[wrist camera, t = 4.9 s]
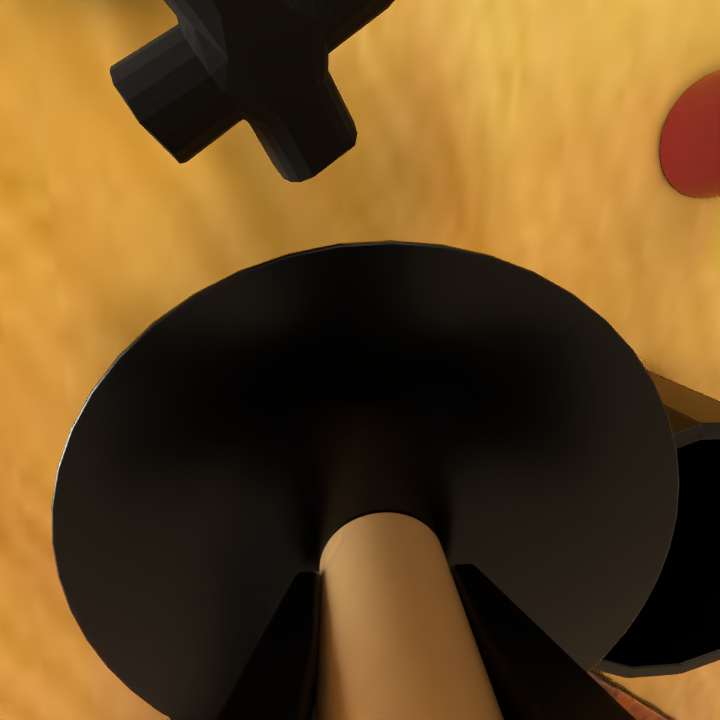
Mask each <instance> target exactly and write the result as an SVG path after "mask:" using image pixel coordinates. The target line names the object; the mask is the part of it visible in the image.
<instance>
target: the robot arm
mask: <svg viewBox="0 0 720 720" xmlns="http://www.w3.org/2000/svg"><path fill="white" fill-rule="evenodd" d="M450 571H451V574H452V577H453V580H454V583H455V585H456V588H457V591H458V594H459V596H460V599H461V602H462V605H463V607H464V610H465V613H466V616H467V619H468V621H469V624H470V627H471V630H472V632H473V635H474V638H475V641H476V643H477V646H478V649H479V652H480V655H481V657H482V660H483V663H484V666H485V668H486V671H487V674H488V677H489V679H490V682H491V685H492V688H493V691H494V693H495V696H496V699H497V702H498V704H499V707H500V710H501V713H502V715H503V718H504V720H636V719H635V718H634V717H633V716H632V715H631V714H630V713H629V712H628V711H627V710H626V709H625V708H624V707H622V706H621V705H620V704H619V703H618V702H617V701H616V700H615V699H614V698H613V697H612V696H611V695H610V694H609V693H608V692H607V691H606V690H605V689H604V688H603V687H602V686H600V685H599V684H598V683H597V682H596V681H595V680H594V679H593V678H592V677H591V676H590V675H589V674H588V673H587V672H586V671H585V670H584V669H583V668H582V667H581V666H580V665H579V664H577V663H576V662H575V661H574V660H573V659H572V658H571V657H570V656H569V655H568V654H567V653H566V652H565V651H564V650H563V649H562V648H561V647H560V646H559V645H558V644H557V643H556V642H554V641H553V640H552V639H551V638H550V637H549V636H548V635H547V634H546V633H545V632H544V631H543V630H542V629H541V628H540V627H539V626H538V625H537V624H536V623H535V622H534V621H533V620H531V619H530V618H529V617H528V616H527V615H526V614H525V613H524V612H523V611H522V610H521V609H520V608H519V607H518V606H517V605H516V604H515V603H514V602H513V601H512V600H511V599H509V598H508V597H507V596H506V595H505V594H504V593H503V592H502V591H501V590H500V589H499V588H498V587H497V586H496V585H495V584H494V583H493V582H492V581H491V580H490V579H489V578H488V577H486V576H485V575H484V574H483V573H482V572H481V571H480V570H479V569H478V568H477V567H476V566H474V565H473V564H454V565H452V566H451V568H450ZM319 615H320V574H319V572H316V571H315V572H299V573H298V574H296V576H295V577H294V579H293V581H292V582H291V584H290V586H289V588H288V589H287V591H286V593H285V595H284V596H283V598H282V600H281V602H280V603H279V605H278V607H277V609H276V610H275V612H274V614H273V616H272V618H271V619H270V621H269V623H268V625H267V626H266V628H265V630H264V632H263V633H262V635H261V637H260V639H259V640H258V642H257V644H256V646H255V647H254V649H253V651H252V653H251V655H250V656H249V658H248V660H247V662H246V663H245V665H244V667H243V669H242V670H241V672H240V674H239V676H238V677H237V679H236V681H235V683H234V684H233V686H232V688H231V690H230V691H229V693H228V695H227V697H226V699H225V700H224V702H223V704H222V706H221V707H220V709H219V711H218V713H217V714H216V716H215V718H214V720H315V710H316V682H317V667H318V650H319ZM170 720H173V719H171V718H170Z"/></svg>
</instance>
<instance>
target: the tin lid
mask: <svg viewBox="0 0 720 720" xmlns="http://www.w3.org/2000/svg"><path fill="white" fill-rule="evenodd" d="M678 497H679V470H678V458H677V448H676V444H675V440H674V436H673V432H672V428H671V424H670V420H669V416H668V413H667V411H666V409H665V407H664V404H663V402H662V400H661V397H660V395H659V393H658V390H657V388H656V386H655V383H654V382H653V380H652V378H651V377H650V375H649V374H648V372H647V371H646V369H645V368H644V366H643V365H642V363H641V361H640V360H639V358H638V357H637V355H636V354H635V352H634V351H633V349H632V348H631V347H630V346H629V345H628V344H627V343H626V342H625V340H624V339H623V338H622V337H621V336H620V335H619V334H618V333H617V332H616V331H615V329H614V328H613V327H612V326H611V325H610V324H609V323H608V322H607V321H606V320H605V319H604V318H603V317H601V316H600V315H599V314H598V313H596V312H595V311H594V310H593V309H591V308H590V307H589V306H588V305H586V304H585V303H584V302H583V301H581V300H580V299H579V298H578V297H576V296H575V295H574V294H572V293H571V292H569V291H567V290H565V289H563V288H562V287H560V286H558V285H556V284H555V283H553V282H551V281H549V280H548V279H546V278H544V277H542V276H541V275H539V274H537V273H535V272H533V271H531V270H528V269H525V268H523V267H520V266H517V265H515V264H512V263H510V262H507V261H504V260H502V259H499V258H496V257H494V256H491V255H487V254H483V253H479V252H474V251H470V250H465V249H461V248H456V247H452V246H447V245H443V244H431V243H418V242H405V241H393V240H383V241H366V242H349V243H337V244H332V245H327V246H322V247H317V248H312V249H307V250H302V251H297V252H292V253H288V254H285V255H283V256H280V257H277V258H274V259H271V260H268V261H265V262H262V263H259V264H256V265H254V266H251V267H248V268H245V269H242V270H240V271H237V272H236V273H234V274H232V275H230V276H228V277H226V278H224V279H222V280H220V281H218V282H216V283H214V284H212V285H210V286H208V287H206V288H204V289H202V290H200V291H198V292H196V293H194V294H193V295H191V296H190V297H188V298H187V299H186V300H184V301H183V302H181V303H180V304H179V305H177V306H176V307H174V308H173V309H171V310H170V311H169V312H167V313H166V314H164V315H163V316H162V317H160V318H159V319H157V320H156V321H154V322H153V323H152V324H151V325H150V326H149V327H148V328H147V329H146V330H145V331H144V332H143V333H142V334H141V335H139V336H138V337H137V338H136V339H135V340H134V341H133V342H132V343H131V344H130V345H129V346H128V347H127V348H126V349H125V350H124V351H123V352H122V353H121V354H120V355H119V356H118V357H117V358H116V360H115V361H114V362H113V364H112V365H111V366H110V367H109V369H108V370H107V371H106V373H105V374H104V375H103V377H102V378H101V379H100V380H99V382H98V383H97V384H96V386H95V387H94V388H93V390H92V391H91V393H90V395H89V396H88V398H87V400H86V402H85V404H84V406H83V408H82V409H81V411H80V413H79V415H78V417H77V419H76V421H75V423H74V424H73V426H72V428H71V431H70V434H69V437H68V440H67V443H66V446H65V448H64V451H63V454H62V457H61V460H60V463H59V466H58V470H57V476H56V483H55V489H54V495H53V501H52V545H53V550H54V555H55V561H56V566H57V572H58V577H59V580H60V583H61V586H62V589H63V591H64V594H65V597H66V600H67V602H68V605H69V608H70V611H71V612H72V614H73V616H74V618H75V620H76V621H77V623H78V625H79V627H80V629H81V630H82V632H83V634H84V636H85V638H86V640H87V641H88V642H89V644H90V645H91V646H92V648H93V649H94V650H95V651H96V653H97V654H98V655H99V657H100V658H101V659H102V661H103V662H104V663H105V665H106V666H107V667H108V668H109V669H110V670H111V671H112V672H113V673H114V674H115V675H116V676H117V677H118V678H119V679H120V680H121V681H122V682H123V683H124V684H125V685H126V686H127V687H128V688H129V689H130V690H131V691H133V692H134V693H135V694H137V695H138V696H139V697H140V698H142V699H143V700H144V701H146V702H147V703H148V704H150V705H151V706H152V707H153V708H155V709H156V710H158V711H159V712H161V713H163V714H164V715H166V716H168V717H169V718H171V719H173V720H214V718H215V716H216V714H217V713H218V711H219V709H220V707H221V706H222V704H223V702H224V700H225V699H226V697H227V695H228V693H229V691H230V690H231V688H232V686H233V684H234V683H235V681H236V679H237V677H238V676H239V674H240V672H241V670H242V669H243V667H244V665H245V663H246V662H247V660H248V658H249V656H250V655H251V653H252V651H253V649H254V647H255V646H256V644H257V642H258V640H259V639H260V637H261V635H262V633H263V632H264V630H265V628H266V626H267V625H268V623H269V621H270V619H271V618H272V616H273V614H274V612H275V610H276V609H277V607H278V605H279V603H280V602H281V600H282V598H283V596H284V595H285V593H286V591H287V589H288V588H289V586H290V584H291V582H292V581H293V579H294V577H295V576H296V574H298V573H299V572H315V571H316V572H319V574H320V615H319V650H318V667H317V682H316V710H315V720H504V718H503V715H502V713H501V710H500V707H499V704H498V702H497V699H496V696H495V693H494V691H493V688H492V685H491V682H490V679H489V677H488V674H487V671H486V668H485V666H484V663H483V660H482V657H481V655H480V652H479V649H478V646H477V643H476V641H475V638H474V635H473V632H472V630H471V627H470V624H469V621H468V619H467V616H466V613H465V610H464V607H463V605H462V602H461V599H460V596H459V594H458V591H457V588H456V585H455V583H454V580H453V577H452V574H451V571H450V568H451V566H452V565H454V564H473V565H474V566H476V567H477V568H478V569H479V570H480V571H481V572H482V573H483V574H484V575H485V576H486V577H488V578H489V579H490V580H491V581H492V582H493V583H494V584H495V585H496V586H497V587H498V588H499V589H500V590H501V591H502V592H503V593H504V594H505V595H506V596H507V597H508V598H509V599H511V600H512V601H513V602H514V603H515V604H516V605H517V606H518V607H519V608H520V609H521V610H522V611H523V612H524V613H525V614H526V615H527V616H528V617H529V618H530V619H531V620H533V621H534V622H535V623H536V624H537V625H538V626H539V627H540V628H541V629H542V630H543V631H544V632H545V633H546V634H547V635H548V636H549V637H550V638H551V639H552V640H553V641H554V642H556V643H557V644H558V645H559V646H560V647H561V648H562V649H563V650H564V651H565V652H566V653H567V654H568V655H569V656H570V657H571V658H572V659H573V660H574V661H575V662H576V663H577V664H579V665H580V666H581V667H582V668H583V669H584V670H585V671H586V672H587V673H588V672H589V671H590V670H591V669H592V668H593V667H594V666H595V665H596V664H597V663H598V662H599V661H601V660H602V659H603V658H604V657H605V656H606V655H607V653H608V652H609V651H610V650H611V649H612V648H613V646H614V645H615V644H616V643H617V642H618V641H619V640H620V638H621V637H622V636H623V635H624V634H625V633H626V631H627V630H628V628H629V627H630V625H631V624H632V623H633V621H634V620H635V618H636V617H637V615H638V614H639V612H640V611H641V609H642V608H643V607H644V605H645V603H646V601H647V599H648V597H649V595H650V593H651V592H652V590H653V588H654V586H655V584H656V582H657V580H658V578H659V576H660V573H661V570H662V568H663V565H664V562H665V560H666V557H667V554H668V552H669V549H670V545H671V541H672V536H673V532H674V527H675V523H676V518H677V510H678Z"/></svg>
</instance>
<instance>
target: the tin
mask: <svg viewBox="0 0 720 720" xmlns="http://www.w3.org/2000/svg"><path fill="white" fill-rule="evenodd" d="M646 371H647V372H648V374H649V375H650V377H651V378H652V380H653V382H654V383H655V386H656V388H657V390H658V393H659V395H660V397H661V400H662V402H663V404H664V407H665V409H666V411H667V413H668V416H669V420H670V424H671V428H672V432H673V436H674V440H675V444H676V448H677V458H678V470H679V497H678V510H677V518H676V523H675V527H674V532H673V536H672V541H671V545H670V549H669V552H668V554H667V557H666V560H665V562H664V565H663V568H662V570H661V573H660V576H659V578H658V580H657V582H656V584H655V586H654V588H653V590H652V592H651V593H650V595H649V597H648V599H647V601H646V603H645V605H644V607H643V608H642V609H641V611H640V612H639V614H638V615H637V617H636V618H635V620H634V621H633V623H632V624H631V625H630V627H629V628H628V630H627V631H626V633H625V634H624V635H623V636H622V637H621V638H620V640H619V641H618V642H617V643H616V644H615V645H614V646H613V648H612V649H611V650H610V651H609V652H608V653H607V655H606V656H605V657H604V658H603V659H602V660H601V661H599V662H598V663H597V664H596V665H595V666H594V667H593V668H592V669H593V670H597V671H601V672H605V673H609V674H613V675H617V676H621V677H625V678H627V677H628V678H635V677H648V676H660V675H673V674H679V673H684V672H687V671H690V670H693V669H695V668H698V667H701V666H704V665H707V664H709V663H712V662H715V661H718V660H720V401H718V400H715V399H713V398H711V397H708V396H706V395H704V394H701V393H699V392H697V391H694V390H692V389H690V388H687V387H685V386H683V385H680V384H678V383H676V382H673V381H671V380H669V379H666V378H664V377H662V376H659V375H657V374H655V373H652V372H650V371H648V370H646Z"/></svg>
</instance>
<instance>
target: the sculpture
mask: <svg viewBox="0 0 720 720" xmlns="http://www.w3.org/2000/svg"><path fill="white" fill-rule="evenodd" d="M164 1H165V2H166V4H167V5H168V6H169V7H170V8H171V9H172V11H173V12H174V13H175V14H176V15H177V19H178V23H179V24H178V25H176V26H175V27H173V28H172V29H170V30H168V31H167V32H165V33H164V34H162V35H160V36H159V37H157V38H156V39H154V40H153V41H151V42H149V43H148V44H146V45H145V46H143V47H141V48H140V49H138V50H137V51H135V52H133V53H132V54H130V55H129V56H127V57H125V58H124V59H122V60H121V61H119V62H117V63H116V64H114V65H113V66H111V68H110V74H111V77H112V81H113V84H114V86H115V87H116V89H117V90H118V92H119V93H120V95H121V96H122V98H123V99H124V101H125V102H126V104H127V105H128V107H129V108H130V110H131V111H132V113H133V114H134V116H135V117H136V119H137V120H138V121H139V123H140V124H141V125H142V126H143V127H144V128H145V129H146V130H147V131H148V132H149V133H150V134H151V135H152V136H153V137H154V138H155V139H156V140H157V141H158V142H159V143H160V144H161V145H162V146H163V147H164V148H165V149H166V150H167V151H168V152H169V153H170V154H171V155H172V156H173V157H174V158H175V159H176V160H177V161H178V162H179V163H180V164H181V163H185V162H187V161H189V160H190V159H191V158H192V157H194V156H195V155H196V154H198V153H199V152H200V151H202V150H203V149H204V148H206V147H207V146H208V145H209V144H211V143H212V142H213V141H215V140H216V139H217V138H219V137H220V136H221V135H223V134H224V133H225V132H226V131H228V130H229V129H230V128H232V127H233V126H234V125H236V124H237V123H238V122H240V121H241V120H242V119H244V120H246V121H247V122H248V123H249V124H250V125H251V127H252V129H253V130H254V132H255V134H256V136H257V137H258V139H259V141H260V143H261V144H262V146H263V148H264V149H265V151H266V153H267V155H268V156H269V158H270V160H271V161H272V163H273V165H274V166H275V168H276V169H277V170H278V171H279V173H280V174H281V175H282V177H283V178H284V179H286V180H288V181H290V182H302V181H304V180H307V179H310V178H312V177H314V176H316V175H317V174H318V173H319V172H321V171H322V170H323V169H325V168H326V167H327V166H329V165H330V164H331V163H333V162H334V161H335V160H336V159H338V158H339V157H340V156H342V155H343V154H344V153H346V152H347V151H348V150H350V149H351V148H352V147H354V146H355V143H356V138H357V131H356V127H355V124H354V121H353V119H352V117H351V115H350V113H349V111H348V109H347V107H346V105H345V103H344V101H343V99H342V97H341V95H340V93H339V91H338V89H337V87H336V85H335V83H334V81H333V79H332V77H331V75H330V73H329V71H328V54H329V53H330V52H331V51H332V50H334V49H335V48H336V47H338V46H339V45H340V44H342V43H343V42H344V41H345V40H347V39H348V38H349V37H351V36H352V35H353V34H355V33H356V32H357V31H359V30H360V29H361V28H362V27H364V26H365V25H366V24H368V23H369V22H370V21H372V20H373V19H374V18H376V17H377V16H378V15H379V14H381V13H382V12H383V11H385V10H386V9H387V8H388V7H389V6H390V5H391V4H392V3H393V1H394V0H164Z"/></svg>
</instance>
